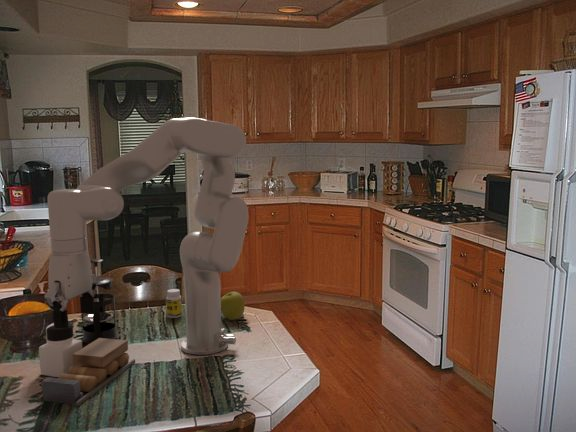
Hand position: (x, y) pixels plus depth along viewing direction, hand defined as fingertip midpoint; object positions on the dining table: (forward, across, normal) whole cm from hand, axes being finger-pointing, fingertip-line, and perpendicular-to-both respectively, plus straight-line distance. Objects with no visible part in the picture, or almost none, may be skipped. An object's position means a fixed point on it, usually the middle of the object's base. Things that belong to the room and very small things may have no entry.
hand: (75, 320), depth 125 cm
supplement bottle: (+17, -53, -2) cm, 56 cm away
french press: (+16, -30, -14) cm, 37 cm away
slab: (+12, -9, 0) cm, 15 cm away
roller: (+16, +1, 0) cm, 16 cm away
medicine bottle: (+16, -8, -10) cm, 21 cm away
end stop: (+16, +6, 0) cm, 17 cm away
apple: (+17, -55, +17) cm, 60 cm away
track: (+16, -4, 0) cm, 17 cm away
